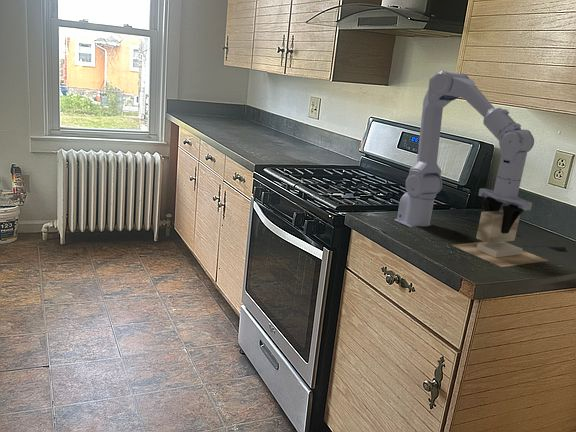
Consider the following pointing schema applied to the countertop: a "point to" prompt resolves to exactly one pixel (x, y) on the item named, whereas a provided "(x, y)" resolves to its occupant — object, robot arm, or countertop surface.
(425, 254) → the countertop surface
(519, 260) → the cork mat
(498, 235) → the tan mottled block
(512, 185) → the robot arm
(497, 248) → the tile
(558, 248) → the bracket
